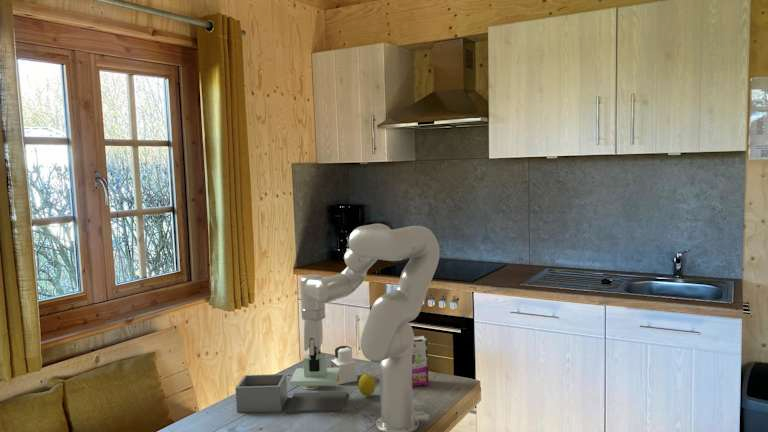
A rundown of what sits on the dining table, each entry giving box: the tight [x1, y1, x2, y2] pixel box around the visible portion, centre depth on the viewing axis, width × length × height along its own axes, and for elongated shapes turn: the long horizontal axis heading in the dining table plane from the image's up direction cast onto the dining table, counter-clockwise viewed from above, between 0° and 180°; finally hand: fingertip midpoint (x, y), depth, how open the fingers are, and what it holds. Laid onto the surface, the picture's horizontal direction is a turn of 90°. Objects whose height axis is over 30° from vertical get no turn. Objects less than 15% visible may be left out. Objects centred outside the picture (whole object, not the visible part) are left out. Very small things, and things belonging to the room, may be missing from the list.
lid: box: [289, 353, 340, 387], centre depth 187 cm, size 15×12×8 cm
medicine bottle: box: [331, 345, 358, 386], centre depth 207 cm, size 7×7×12 cm
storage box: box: [235, 373, 288, 413], centre depth 188 cm, size 14×11×8 cm
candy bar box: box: [412, 335, 429, 388], centre depth 200 cm, size 11×5×16 cm, turn 97°
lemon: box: [358, 373, 376, 398], centre depth 191 cm, size 6×6×8 cm
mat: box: [285, 391, 348, 414], centre depth 188 cm, size 18×14×1 cm
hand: (315, 368), depth 187 cm, fingers closed on lid, 4 cm apart
